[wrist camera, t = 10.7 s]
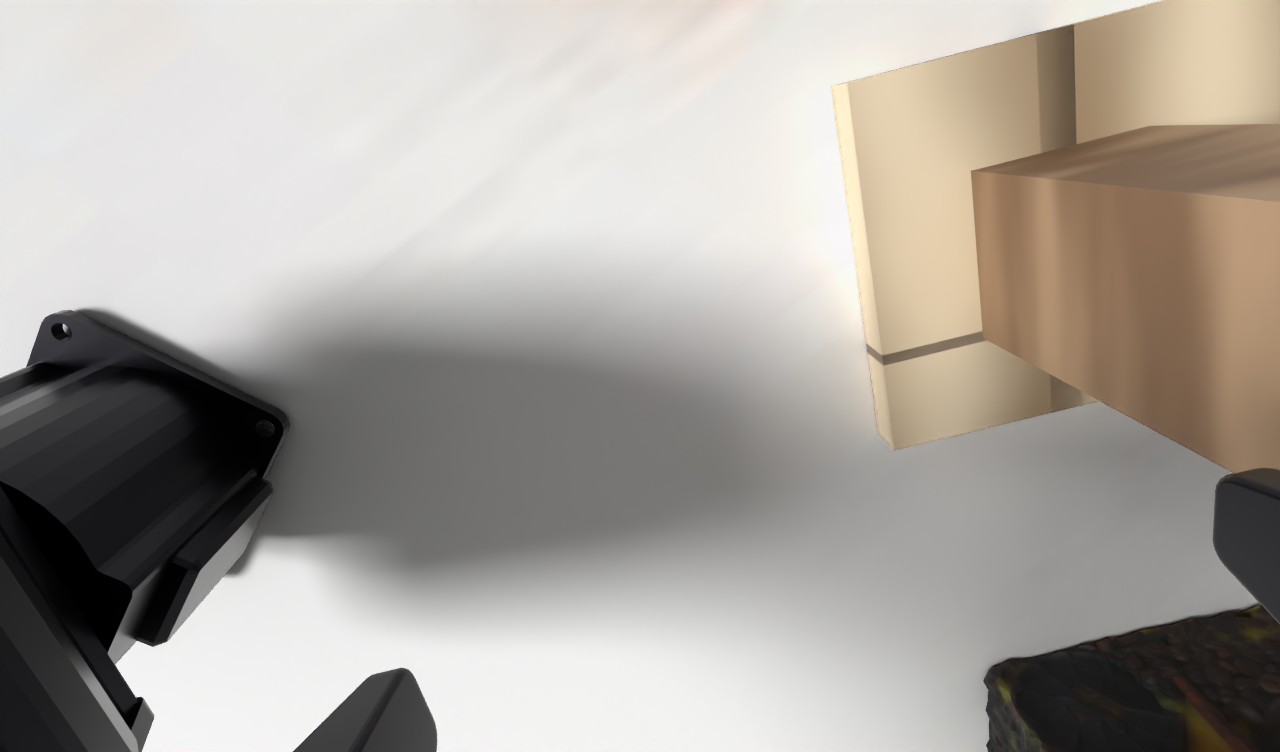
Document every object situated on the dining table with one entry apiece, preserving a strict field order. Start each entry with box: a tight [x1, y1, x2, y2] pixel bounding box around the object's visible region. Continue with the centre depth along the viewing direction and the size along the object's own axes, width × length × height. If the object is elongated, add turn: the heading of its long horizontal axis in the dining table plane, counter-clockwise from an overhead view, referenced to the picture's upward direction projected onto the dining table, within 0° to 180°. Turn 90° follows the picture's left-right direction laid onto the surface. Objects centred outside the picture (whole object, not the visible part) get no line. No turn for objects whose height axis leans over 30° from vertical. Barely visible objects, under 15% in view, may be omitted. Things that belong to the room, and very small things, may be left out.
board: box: [831, 0, 1280, 450], centre depth 18 cm, size 22×10×1 cm, turn 103°
